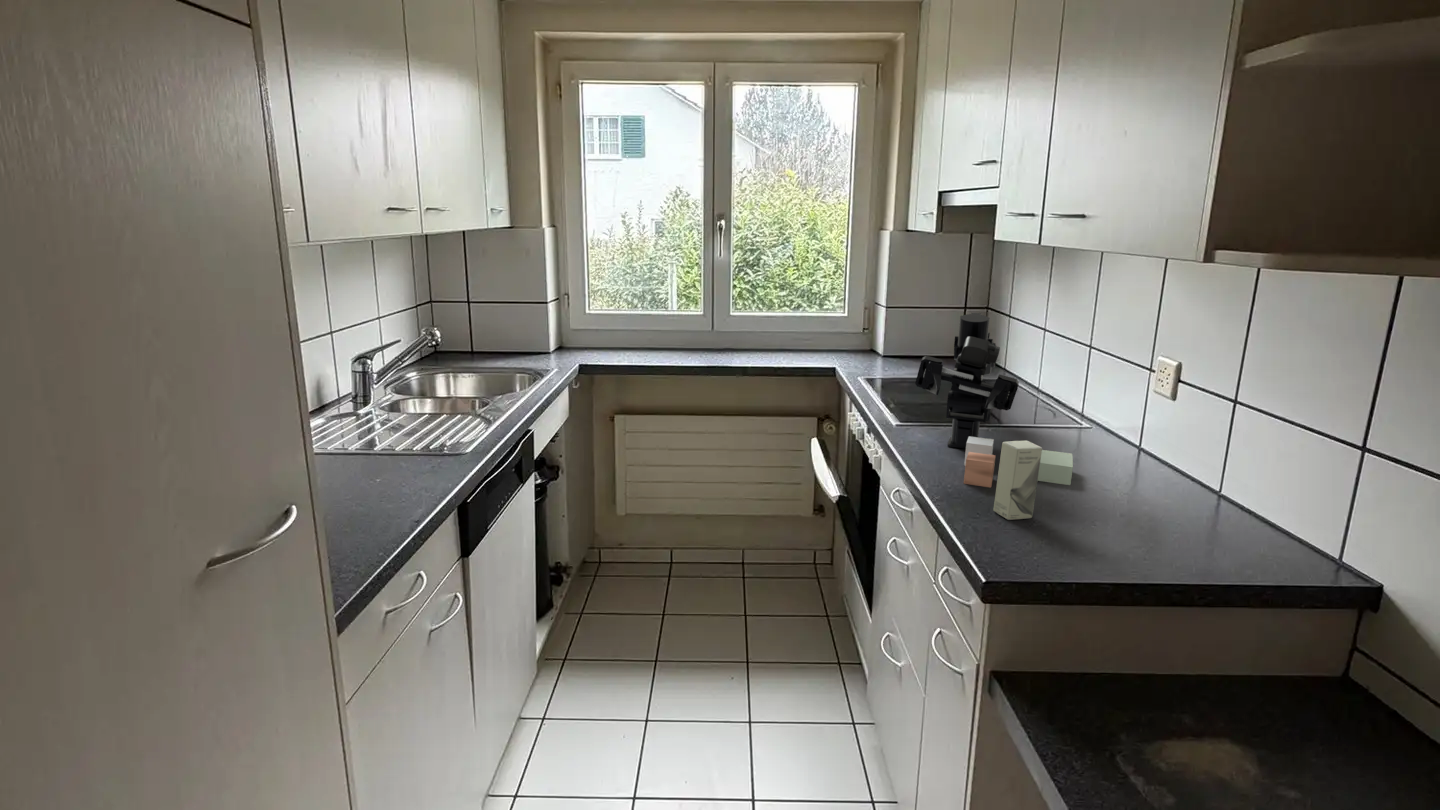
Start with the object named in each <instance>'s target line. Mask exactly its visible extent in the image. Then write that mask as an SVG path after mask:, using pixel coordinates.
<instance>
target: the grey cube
mask: <svg viewBox="0 0 1440 810" xmlns="http://www.w3.org/2000/svg"><path fill="white" fill-rule="evenodd" d="M994 442H995V439H994V438H986V437H985V438H984V437H979V436H978V437H971V436H969V437H968V440H967V443H966V449H965V452H964V453H965V454H964V463H963V466H966V458H967V455H968V452H974V453H981V454H989V455H993V452H994V444H995V443H994Z"/></svg>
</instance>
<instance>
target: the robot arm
mask: <svg viewBox="0 0 1440 810" xmlns="http://www.w3.org/2000/svg"><path fill="white" fill-rule="evenodd" d="M981 313H982V312H981ZM981 313H980V312H971V313H969V314H968V313H967V314H963V315H960V316H959V323H958V324H959V326H958V327H959V328H958V335H955V336H954V344H953V360H955V365H954V369H951V368H948V367H944V365H943V359H941V358H937V357H933V356H929V355H925V356H923V357H922V358H921V361H920V365H919V369H918V372H917V376H916V380H915V382H914V383H915V386H916V387H918V388H921V389H923V390H926V391H927V392H930V393H932V394H934V395H936V396H939V393H940V389H941V385H942V381H946V382H948V383H949V382H950V383H951V387H950V390H949V391H948V393H947V400H946V415H945V416H946V417H945V418H946V419H947V420H948V419H952V424H951V425H952V426H951V435H950V436H949V437H950V438H949V440H948V442H947V447H951V448H958V449H965V450H966V443H967V440H968V437H969V436H971V437H979V433H980V423H986V422H990V420H991V411H992V410H995V409H996V410H1000V411H1001V410H1003V411H1008V410H1011V408H1012V405H1013V403H1014V400H1015V397H1016V394H1017V390H1018V387H1019V381H1018V378H1015V377H1010V376H1007V375H1003V374H998V376H997V379H996V380H995V381H994V384H990V383H987V382H986V381H985V380H984V376H987V375H988V376H989V375H990V374H991V373H992V369H995V366H996V363H997V360H998V358H999V355H1000V350H1001V348H1000V346H997V345H996V343H995V342H994V341H993V340H994V338H991V332H989V327H990V317H989V316H987V315H984V314H981Z"/></svg>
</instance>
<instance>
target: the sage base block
mask: <svg viewBox="0 0 1440 810" xmlns="http://www.w3.org/2000/svg"><path fill="white" fill-rule="evenodd" d="M1073 461H1074V460H1073V453H1069V452H1062V451H1055V450H1054V451H1053V450H1047V449H1045V450H1044V449H1042V453H1041V460H1040V467H1039V473H1038V481H1039V482H1045V483H1050V484H1051V483H1053V484H1060V485H1066V486H1071V483H1072V476H1073V471H1074V466H1073V464H1074V462H1073ZM1038 481H1037V482H1038Z"/></svg>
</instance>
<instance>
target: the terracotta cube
mask: <svg viewBox="0 0 1440 810" xmlns="http://www.w3.org/2000/svg"><path fill="white" fill-rule="evenodd" d="M996 456H997V455H996V454H995V455H994V454H992V455H989V454H981V453H974V452H968V455H967V458H966V466H965V467H964V475H963V476H964V477H963V484H964V485H971V486H976V487H977V486H978V487H984V488H992V485H993V481H994V473H995V463H996Z"/></svg>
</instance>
